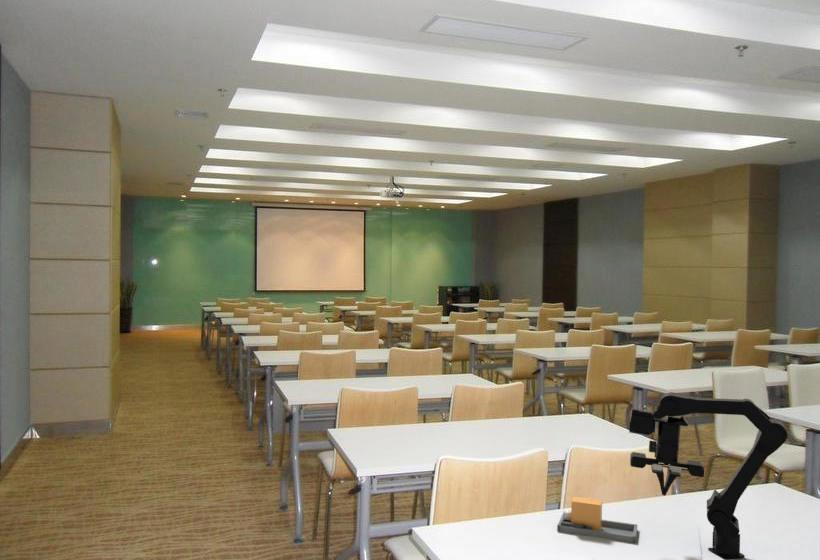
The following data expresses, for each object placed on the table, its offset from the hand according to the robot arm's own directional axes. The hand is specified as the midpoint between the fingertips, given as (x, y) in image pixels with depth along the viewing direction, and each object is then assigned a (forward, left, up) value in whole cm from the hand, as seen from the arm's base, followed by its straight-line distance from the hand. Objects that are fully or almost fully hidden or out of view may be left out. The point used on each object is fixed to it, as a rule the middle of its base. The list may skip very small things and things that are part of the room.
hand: (663, 495), depth 182 cm
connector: (+12, +17, -12) cm, 24 cm away
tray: (+10, +14, -13) cm, 22 cm away
